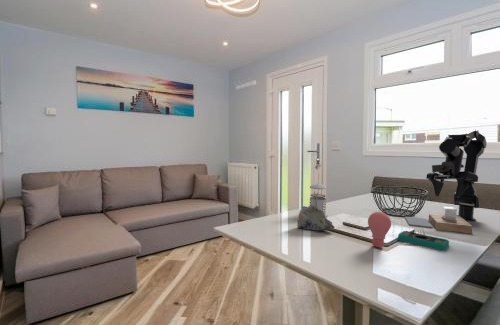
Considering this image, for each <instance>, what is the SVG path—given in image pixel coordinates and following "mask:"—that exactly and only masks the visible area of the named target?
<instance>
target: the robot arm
mask: <svg viewBox="0 0 500 325" xmlns="http://www.w3.org/2000/svg"><path fill="white" fill-rule="evenodd" d="M438 148H439V151H440V152H441V153H442V154H443V155H444V156H445V161H442V162H441V164H433V165H431V169H432V170H431V171H432V172H428V173H427V174H426V177H425V179H426V180H428V181H429V182H431V185H432V186H433V190H434V195H435V197H439V196H440V194H441V192H442V189H443V186H444V185H445V183H444V181H445V180H456V182H457V186H456V191H455V192H454V194H453V202H454V203H453V204H454V205H455V206H458V211H457V212H458V213H457V214H456V216H460V217H462V218H463V219H464V220H465V221H477V219H476V218H474V212H475V210H474V209H477V208H480V206H481V205H480V199H479V196H478V192H477V190H476V188H475V183H478V182H479V176H478V174H477V168H478V162H479V157H481V155H483V154H484V152H485V149H486V148H487V139H486V136H484V135H482V134H481V133H480V132H479V130H478V129H464V130H463V131H462V132H459V133H455V132H454V133H452V132H451V133H448V134H447V136H446V138H445V139H444V140H443V141H442V142H441V143H440V145H439V146H438ZM462 148H463V149H462ZM464 153H465V154H466V157H465V163H464V164H462V163H463V158H464ZM462 168H464V169H463V171H461V169H462Z"/></svg>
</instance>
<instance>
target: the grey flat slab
mask: <svg viewBox="0 0 500 325" xmlns="http://www.w3.org/2000/svg"><path fill="white" fill-rule="evenodd" d="M404 218H405V221H406V222H407V224H408V226H410V227H411V226H412V227H419V228H427V229H433V228H434V226H433V224H432V223H431V222H430V221H429V219H427V218H423V217H415V216H414V217H413V216H405V217H404Z"/></svg>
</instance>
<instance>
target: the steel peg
mask: <svg viewBox="0 0 500 325" xmlns="http://www.w3.org/2000/svg"><path fill="white" fill-rule="evenodd" d="M457 212H458V210H457V208H455V207H454V206H453V207H452V206H451V207H450V206H442V215H443V216H442V219H443V220H449V221H456V215H458V213H457Z"/></svg>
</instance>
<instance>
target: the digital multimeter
mask: <svg viewBox="0 0 500 325" xmlns="http://www.w3.org/2000/svg"><path fill="white" fill-rule="evenodd" d="M397 240H398V241H399V242H404V243H408V244H412V245H416V246H420V247H425V248H428V249H433V250H436V251H440V252H446V250H448V249H449V246H450V241H449V240H448V239H446V238H440V237H436V236H431V235H426V234H422V233H417V232H412V231H408V230H404V231H401V232H399V233H398V236H397Z"/></svg>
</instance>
